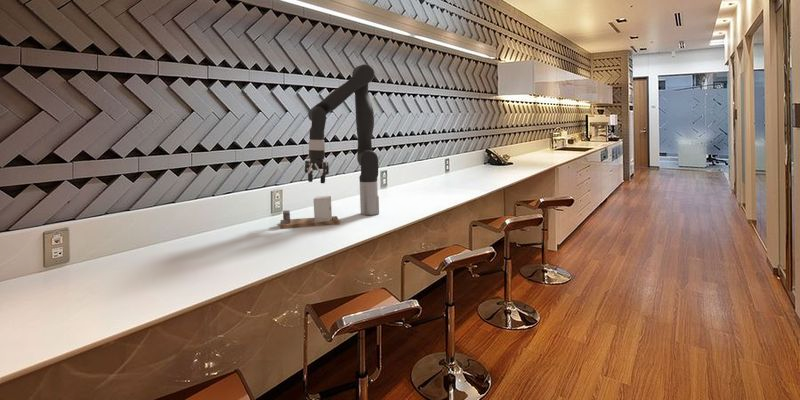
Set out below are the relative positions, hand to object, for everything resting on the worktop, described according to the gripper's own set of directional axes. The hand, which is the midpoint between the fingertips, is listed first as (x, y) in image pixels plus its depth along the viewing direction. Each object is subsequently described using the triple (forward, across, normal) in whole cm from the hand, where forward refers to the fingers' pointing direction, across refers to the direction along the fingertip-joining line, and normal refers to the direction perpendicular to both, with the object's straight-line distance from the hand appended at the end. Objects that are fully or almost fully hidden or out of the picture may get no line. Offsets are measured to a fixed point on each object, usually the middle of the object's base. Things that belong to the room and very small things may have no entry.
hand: (316, 182), depth 216 cm
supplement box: (+19, -8, +2) cm, 21 cm away
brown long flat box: (+19, -4, +7) cm, 21 cm away
